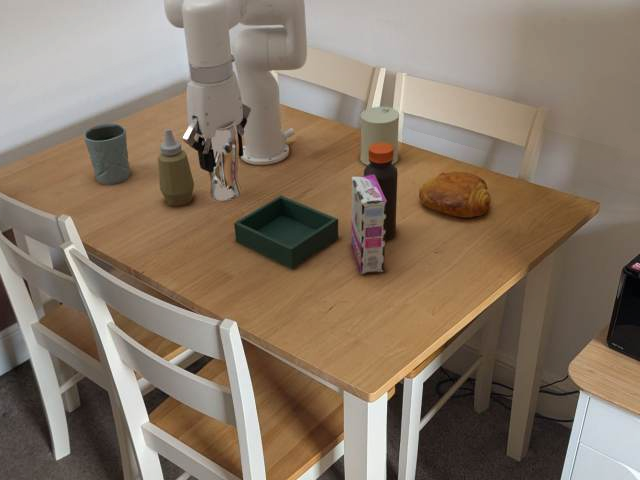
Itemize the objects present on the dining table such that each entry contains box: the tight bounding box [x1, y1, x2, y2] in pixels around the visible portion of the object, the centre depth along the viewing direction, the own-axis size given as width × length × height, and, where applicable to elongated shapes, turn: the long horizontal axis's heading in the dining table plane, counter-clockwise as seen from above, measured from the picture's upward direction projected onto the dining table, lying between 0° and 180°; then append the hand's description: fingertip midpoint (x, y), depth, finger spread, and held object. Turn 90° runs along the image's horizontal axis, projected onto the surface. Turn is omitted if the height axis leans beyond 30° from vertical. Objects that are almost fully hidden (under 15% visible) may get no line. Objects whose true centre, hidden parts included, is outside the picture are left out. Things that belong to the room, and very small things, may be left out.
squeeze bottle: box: [157, 128, 195, 207], centre depth 183 cm, size 8×8×18 cm
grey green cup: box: [83, 123, 131, 185], centre depth 198 cm, size 10×10×12 cm
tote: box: [233, 195, 340, 270], centre depth 170 cm, size 15×17×5 cm
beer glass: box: [202, 120, 242, 203], centre depth 150 cm, size 7×7×15 cm
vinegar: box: [363, 143, 398, 241], centre depth 165 cm, size 7×7×20 cm
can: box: [359, 106, 400, 166], centre depth 193 cm, size 9×9×12 cm
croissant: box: [418, 170, 491, 219], centre depth 176 cm, size 14×16×8 cm
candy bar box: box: [350, 175, 387, 275], centre depth 159 cm, size 11×5×16 cm, turn 5°
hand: (222, 161), depth 151 cm, fingers closed on beer glass, 7 cm apart
